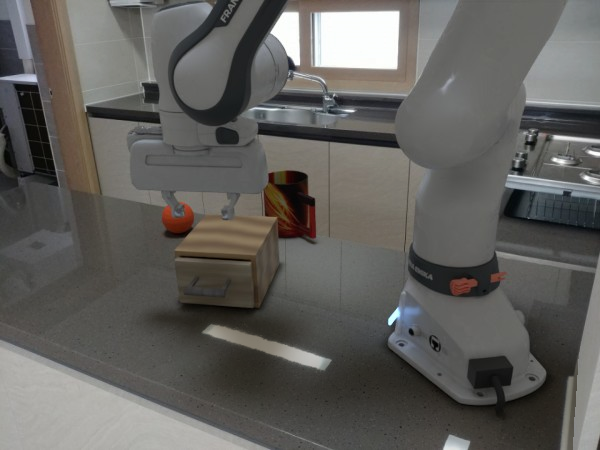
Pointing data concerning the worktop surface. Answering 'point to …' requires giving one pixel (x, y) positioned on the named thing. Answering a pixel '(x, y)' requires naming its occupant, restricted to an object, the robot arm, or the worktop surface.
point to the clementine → (178, 220)
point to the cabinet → (238, 245)
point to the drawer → (215, 281)
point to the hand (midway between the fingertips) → (203, 217)
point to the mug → (290, 204)
